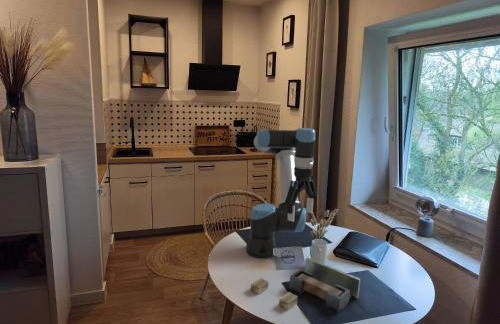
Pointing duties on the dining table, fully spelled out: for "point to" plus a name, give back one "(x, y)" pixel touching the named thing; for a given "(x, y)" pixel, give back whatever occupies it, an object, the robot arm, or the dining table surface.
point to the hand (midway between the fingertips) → (300, 216)
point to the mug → (319, 250)
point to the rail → (318, 287)
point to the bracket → (328, 283)
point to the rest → (284, 301)
